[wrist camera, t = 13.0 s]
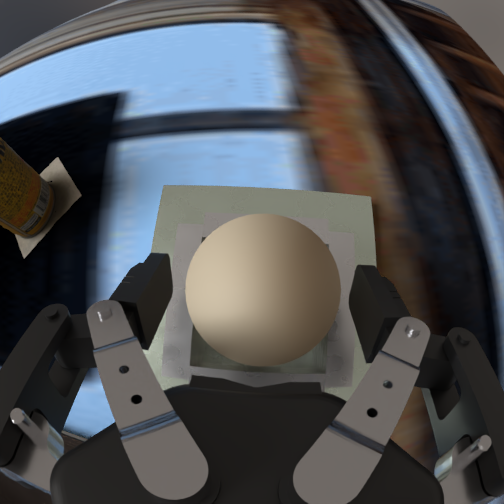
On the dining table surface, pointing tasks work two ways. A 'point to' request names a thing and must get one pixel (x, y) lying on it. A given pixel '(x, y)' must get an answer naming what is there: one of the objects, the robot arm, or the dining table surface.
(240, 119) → the dining table surface
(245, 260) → the birch plug
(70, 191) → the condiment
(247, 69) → the dining table surface
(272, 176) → the dining table surface
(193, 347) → the socket
